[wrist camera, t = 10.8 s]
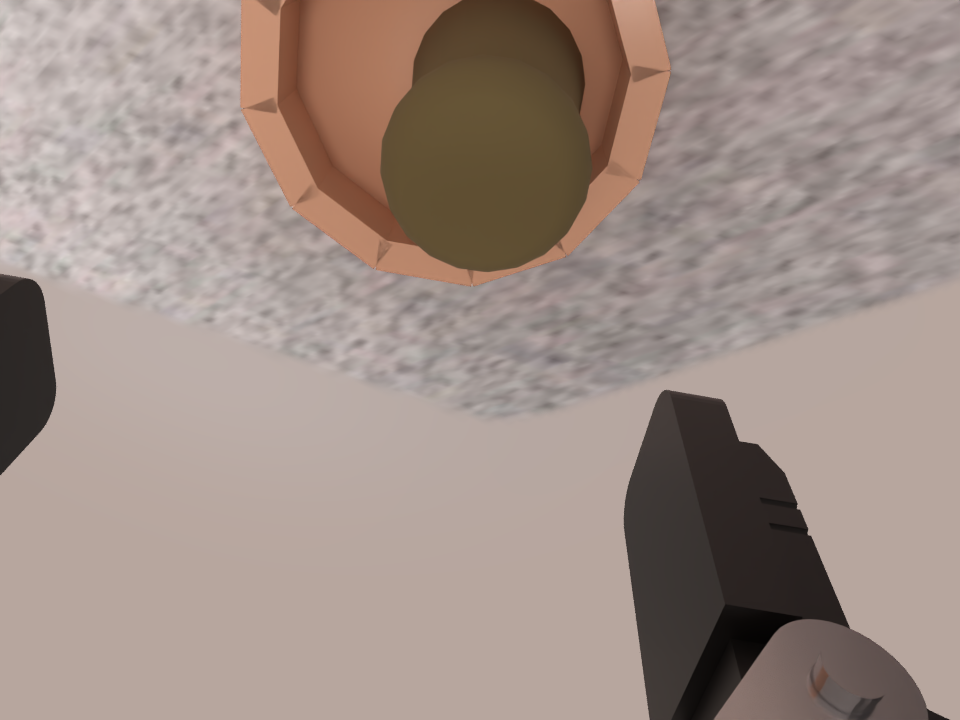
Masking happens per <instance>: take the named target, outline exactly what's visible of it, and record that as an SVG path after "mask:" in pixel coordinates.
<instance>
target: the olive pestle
mask: <svg viewBox="0 0 960 720" xmlns="http://www.w3.org/2000/svg"><path fill="white" fill-rule="evenodd" d="M584 89H585V77H584V69H583V61H582V55H581V53H580V51H579V48H578V46H577V44H576V42H575V40H574V38H573V36H572V33H571V31H570V29H569V28H568V27H567V26H566V25H565V24H564V23H563V22H562V21H561V20H560V19H559V18H558V17H557V16H556V14H555V13H554V12H553V11H552V10H551V9H550V8H548V7H546V6H544V5H542V4H540V3H538V2H536V1H535V0H462V1H460V2H458V3H457V4H455V5H453V6H452V7H450V8H449V9H447V10H445V11H444V12H442V14H441V15H440V16H439V17H438V18H437V20H436V21H435V22H434V23H433V24H432V26H431V27H430V28H429V29H428V30H427V31H426V33H425V34H424V36H423V39H422V41H421V44H420V46H419V49H418V51H417V54H416V56H415V59H414V64H413V78H412V88H411V89H410V90H409V91H408V92H407V94H406V95H405V96H404V97H403V98H402V99H401V101H400V102H399V103H398V104H397V106H396V107H395V109H394V111H393V114H392V116H391V119H390V121H389V124H388V126H387V129H386V131H385V134H384V136H383V139H382V149H381V166H380V174H381V178H382V182H383V185H384V189H385V193H386V197H387V201H388V204H389V208H390V211H391V212H392V214H393V215H394V217H395V219H396V220H397V222H398V223H399V225H400V227H401V228H402V230H403V231H404V233H405V234H406V236H407V237H408V238H409V239H411V240H412V241H413V242H414V243H415V244H416V245H418V246H419V247H420V248H421V249H422V250H423V251H425V252H426V253H427V254H428V255H429V256H431V257H433V258H436V259H438V260H440V261H442V262H445V263H447V264H449V265H451V266H453V267H456V268H459V269H467V270H474V271H482V272H493V271H499V270H505V269H512V268H518V267H520V266H522V265H524V264H526V263H528V262H530V261H532V260H534V259H536V258H539V257H541V256H543V255H545V254H546V253H547V252H548V251H549V250H550V249H551V248H552V247H553V246H554V245H556V244H557V243H558V242H559V241H560V240H561V239H562V238H563V237H564V236H565V235H566V234H567V233H568V232H569V230H570V228H571V227H572V225H573V223H574V221H575V219H576V218H577V216H578V214H579V212H580V211H581V209H582V207H583V205H584V203H585V202H586V199H587V194H588V189H589V184H590V179H591V174H592V169H593V168H592V160H591V152H590V144H589V136H588V132H587V129H586V127H585V125H584V123H583V121H582V119H581V117H580V115H579V114H580V111H581V105H582V100H583V94H584Z"/></svg>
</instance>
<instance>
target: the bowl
mask: <svg viewBox="0 0 960 720" xmlns="http://www.w3.org/2000/svg"><path fill="white" fill-rule="evenodd" d="M460 1H462V0H241V106H240V107H241V108H243V109H242V110H241V111H242V113H243V115H244V117H245V119H246V121H247V123H248V124H249V126H250V128H251V130H252V132H253V134H254V136H255V138H256V140H257V142H258V144H259V146H260V148H261V150H262V152H263V154H264V156H265V158H266V160H267V162H268V164H269V166H270V168H271V170H272V172H273V173H274V175H275V177H276V179H277V181H278V183H279V185H280V187H281V189H282V191H283V193H284V195H285V197H286V199H287V201H288V203H289V205H290V207H291V206H294V207H293V208H292V209H293V210H295V211H296V212H297V213H299V214H300V215H301V216H303V217H304V218H305V219H307V220H308V221H310V222H311V223H312V224H314V225H315V226H316V227H318V228H319V229H320V230H322V231H323V232H324V233H326V234H327V235H328V236H330V237H331V238H332V239H334V240H335V241H337V242H338V243H339V244H341V245H342V246H343V247H345V248H346V249H347V250H349V251H350V252H351V253H353V254H354V255H355V256H357V257H358V258H359V259H361V260H362V261H364V262H365V263H366V264H368V265H369V266H370V267H372V268H373V269H374V268H375V266H376V270H379V271H385V272H391V273H397V274H402V275H408V276H414V277H420V278H425V279H431V280H437V281H443V282H448V283H454V284H460V285H466V286H471V284H473V286H476V285H479V284H482V283H486V282H489V281H492V280H495V279H498V278H501V277H504V276H508V275H511V274H514V273H517V272H520V271H523V270H526V269H530V268H533V267H536V266H539V265H542V264H545V263H549V262H552V261H555V260H558V259H561V258H564V257H566V254H567V255H569V254H570V253H571V252H572V251H573V250H574V249H575V248H576V247H577V246H578V245H579V244H580V243H581V242H582V241H583V240H584V239H585V238H586V237H587V236H588V235H589V234H590V233H591V232H592V231H593V230H594V229H595V227H596V226H597V225H598V224H599V223H600V222H601V221H602V220H603V219H604V218H605V217H606V216H607V215H608V214H609V213H610V212H611V211H612V210H613V209H614V208H615V207H616V206H617V205H618V204H619V203H620V202H621V201H622V200H623V199H624V198H625V197H626V196H627V195H628V194H629V193H630V192H631V191H632V189H633V188H634V187H635V186H636V185H637V184H638V183H639V180H641V178H642V174H643V170H644V167H645V163H646V160H647V156H648V153H649V149H650V146H651V142H652V138H653V135H654V131H655V128H656V124H657V121H658V117H659V114H660V110H661V106H662V103H663V99H664V96H665V92H666V89H667V85H668V82H669V78H670V74H671V71H670V69H671V66H670V62H669V58H668V54H667V50H666V45H665V41H664V37H663V33H662V29H661V25H660V20H659V16H658V12H657V8H656V4H655V0H535V1H536V2H538V3H540V4H542V5H544V6H546V7H548V8H550V9H551V10H552V11H553V12H554V13H555V14H556V16H557V17H558V18H559V19H560V20H561V21H562V22H563V23H564V24H565V25H566V26H567V27H568V28H569V29H570V31H571V33H572V36H573V38H574V40H575V42H576V44H577V46H578V48H579V51H580V53H581V55H582V61H583V69H584V77H585V89H584V94H583V100H582V105H581V111H580V114H579V115H580V117H581V119H582V121H583V123H584V125H585V127H586V129H587V132H588V136H589V144H590V152H591V160H592V168H593V169H592V174H591V179H590V184H589V189H588V194H587V199H586V202H585V203H584V205H583V207H582V209H581V211H580V212H579V214H578V216H577V218H576V219H575V221H574V223H573V225H572V227H571V228H570V230H569V232H568V233H567V234H566V235H565V236H564V237H563V238H562V239H561V240H560V241H559V242H558V243H557V244H556V245H554V246H553V247H552V248H551V249H550V250H549V251H548V252H547V253H546V254H545V255H543V256H541V257H539V258H536V259H534V260H532V261H530V262H528V263H526V264H524V265H522V266H520V267H518V268H512V269H505V270H499V271H493V272H482V271H474V270H467V269H459V268H456V267H453V266H451V265H449V264H447V263H445V262H442V261H440V260H438V259H436V258H433V257H431V256H429V255H428V254H427V253H426V252H425V251H423V250H422V249H421V248H420V247H419V246H418V245H416V244H415V243H414V242H413V241H412V240H411V239H409V238H408V237H407V236H406V234H405V233H404V231H403V230H402V228H401V227H400V225H399V223H398V222H397V220H396V219H395V217H394V215H393V214H392V212H391V211H390V208H389V204H388V201H387V197H386V193H385V189H384V185H383V182H382V178H381V174H380V166H381V149H382V139H383V136H384V134H385V131H386V129H387V126H388V124H389V121H390V119H391V116H392V114H393V111H394V109H395V107H396V106H397V104H398V103H399V102H400V101H401V99H402V98H403V97H404V96H405V95H406V94H407V92H408V91H409V90H410V89H411V88H412V78H413V64H414V59H415V56H416V54H417V51H418V49H419V46H420V44H421V41H422V39H423V36H424V34H425V33H426V31H427V30H428V29H429V28H430V27H431V26H432V24H433V23H434V22H435V21H436V20H437V18H438V17H439V16H440V15H441V14H442V12H444V11H445V10H447V9H449V8H450V7H452V6H453V5H455V4H457V3H458V2H460Z"/></svg>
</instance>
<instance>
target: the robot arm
mask: <svg viewBox="0 0 960 720" xmlns="http://www.w3.org/2000/svg"><path fill="white" fill-rule="evenodd" d="M55 396H56V379H55V372H54V365H53V358H52V351H51V344H50V337H49V330H48V322H47V315H46V308H45V301H44V296H43V293H42V290H41V288H40V287H39V285H38V284H37V283H36V282H35V281H33V280H31V279H27V278H21V277H16V276H10V275H4V274H0V475H1V474H2V473H3V472H4V471H5V470H6V468H7V467H8V466H9V465H10V464H11V463H12V462H13V461H14V460H15V459H16V458H17V457H18V455H19V454H20V453H21V452H22V451H23V450H24V449H25V448H26V447H27V446H28V445H29V443H30V442H31V441H32V440H33V439H34V438H35V437H36V436H37V435H38V433H39V432H40V431H41V430H42V429H43V428H44V426H45V425H46V423H47V421H48V419H49V417H50V414H51V412H52V409H53V406H54V401H55ZM624 531H625V539H626V546H627V553H628V560H629V569H630V576H631V583H632V591H633V598H634V606H635V613H636V621H637V628H638V636H639V642H640V650H641V658H642V666H643V673H644V680H645V688H646V695H647V703H648V710H649V717H650V720H949V719H947V718H944V717H942V716H940V715H938V714H936V713H934V712H932V711H930V710H928V709H927V708H926V704H925V701H924V699H923V696H922V694H921V692H920V690H919V688H918V687H917V685H916V683H915V682H914V680H913V679H912V677H911V676H910V675H909V674H908V672H907V671H906V670H905V668H904V667H903V666H902V665H901V664H900V663H899V662H898V661H897V660H896V659H895V658H894V657H893V656H891V655H890V654H889V653H888V652H887V651H885V650H884V649H883V648H882V647H881V646H879V645H878V644H876V643H875V642H873V641H872V640H871V639H869V638H867V637H865V636H863V635H861V634H860V633H858V632H856V631H854V630H852V629H850V628H849V625H848V623H847V620H846V618H845V615H844V613H843V611H842V608H841V606H840V603H839V601H838V599H837V596H836V594H835V592H834V589H833V587H832V585H831V582H830V580H829V577H828V575H827V572H826V570H825V568H824V565H823V563H822V561H821V558H820V556H819V554H818V551H817V549H816V547H815V544H814V542H813V539H812V537H811V536H809V535H808V534H807V532H808V527H807V525H806V523H805V521H804V518H803V515H802V513H801V511H800V510H798V509H797V501H796V499H795V496H794V494H793V492H792V489H791V487H790V485H789V482H788V480H787V477H786V475H785V473H784V472H783V471H782V470H781V469H780V468H779V467H778V466H777V464H776V463H775V462H774V461H773V460H772V459H771V458H770V457H769V456H768V455H767V454H766V453H765V452H764V451H763V450H762V449H761V447H760V446H759V445H758V444H752V443H746V442H740V441H739V440H738V437H737V434H736V431H735V428H734V426H733V423H732V420H731V417H730V415H729V412H728V409H727V406H726V404H725V402H724V401H723V400H721V399H716V398H710V397H705V396H699V395H692V394H686V393H681V392H675V391H670V390H664V391H663V392H662V393H661V394H660V396H659V398H658V400H657V402H656V404H655V407H654V410H653V413H652V416H651V419H650V422H649V425H648V428H647V431H646V434H645V437H644V440H643V442H642V446H641V448H640V452H639V455H638V457H637V460H636V463H635V466H634V469H633V472H632V475H631V478H630V481H629V485H628V489H627V494H626V500H625V508H624Z"/></svg>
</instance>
